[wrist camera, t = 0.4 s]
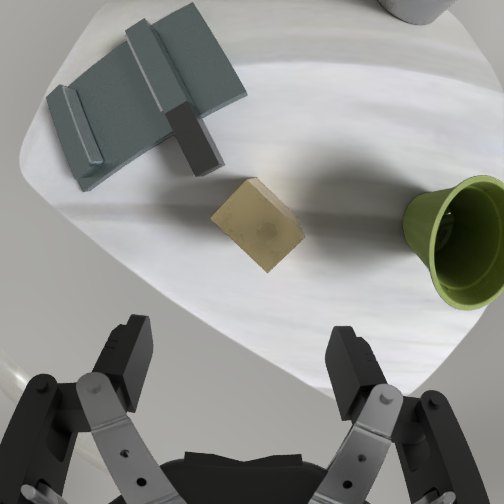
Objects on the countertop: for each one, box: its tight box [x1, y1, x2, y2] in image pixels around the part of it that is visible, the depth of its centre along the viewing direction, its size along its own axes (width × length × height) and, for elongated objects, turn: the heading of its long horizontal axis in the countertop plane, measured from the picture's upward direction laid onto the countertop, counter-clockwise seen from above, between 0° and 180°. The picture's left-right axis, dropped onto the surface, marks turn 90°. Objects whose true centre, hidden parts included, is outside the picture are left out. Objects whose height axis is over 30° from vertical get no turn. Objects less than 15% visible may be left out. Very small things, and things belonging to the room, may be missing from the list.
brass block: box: [210, 177, 305, 273], centre depth 27 cm, size 4×6×10 cm, turn 46°
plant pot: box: [403, 175, 504, 310], centre depth 25 cm, size 12×12×11 cm
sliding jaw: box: [125, 18, 225, 177], centre depth 26 cm, size 3×19×3 cm, turn 26°
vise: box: [46, 3, 248, 192], centre depth 27 cm, size 22×14×4 cm, turn 116°
